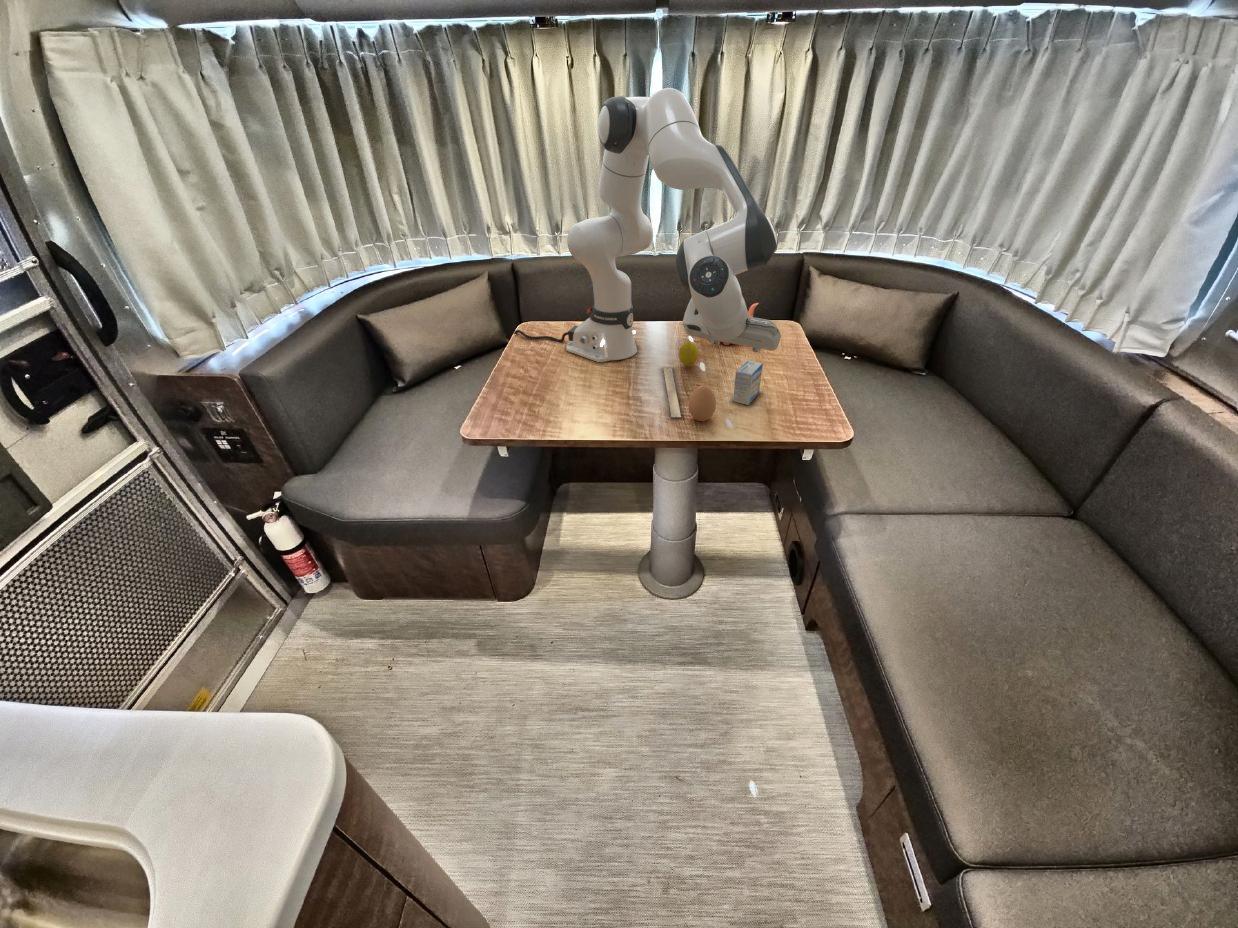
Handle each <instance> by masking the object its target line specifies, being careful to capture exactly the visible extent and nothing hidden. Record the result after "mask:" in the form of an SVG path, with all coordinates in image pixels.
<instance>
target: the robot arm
mask: <svg viewBox="0 0 1238 928" xmlns="http://www.w3.org/2000/svg"><path fill="white" fill-rule="evenodd" d="M597 131H598V132H597V133H598V139H599V142H600V143H601V145H602V147H603V148H604V150H603V156H602V162H601V167H600V175H599V181H598V182H599V183H598V188H597V189H598V193H599V194H598V195H599V196H600V199H601V200H602V202H603V203H604V204H605V205H606V206H608V207H609V208H610V212H609V214H608V215H603V216H598V217H592V218H587V219H584V220H582V221H579V222H577V223H575V224H573V225H571V226H570V228H569V230H568V233H567V237H566V238H567V239H566V243H567V244H566V245H567V248H568V251H569V253H570V255H571V257H573V258H574V260H575V261H577V262H578V263H580V264H581V265H582V266H583V267H584V268H585V269H586V271H587V272H588V275H589V277H590V279H591V283H592V290H593V291H592V292H593V303H594V304H593V305H591V306H590V308H588V309H586V311H587V312H586V314H589V313H590V315H589V317H588V318H587V319H584V321H582V322H581V323H579V325H574V326H573V327H571V328H570V329H569V330H568V331H567V332H564V333H563V334H562V335H561V338H560V339H559V338H556V337H553V336H551V335H540V336H539V335H537V336H532V335H528V334H526V333H525V332H523V330H520V329H516V330H514V332H513V335H517V334H521V336H523V337H525V338H526V339H530V340H545V339H546V340H552V341H554V342H557V343H562V342H564V341H565V337H566V336H567V338H568V341H569V342H568V343H567V344H566V348H565V350H566V351H567V352H569V353H572V354H574V355H577V356H579V357H582V358H585V359H588V360H591V361H594V362H597V363H605V362H609V361H619V360H621V361H622V360H625V359H629V358H631V357H633V356H634V355H636V354H637V352H638V347H637V344H636V341H635V334H636V330H634V328H633V324H634V306H633V303H632V281H631V279H630V277H629V276H628V274H627V273H625V272H623V271H622V270H620V269H617V265H616V259H617V258H623V257H627V256H632V255H636V254H638V253H640V252H642V251H644V250H646V249H648V248H649V247H650V245H651V244H652V241H653V237H654V230H653V226H652V222H651V221H650V219H649V217H648V216H647V215H646V214H645V213H644V212H643V208H642V194H643V189H644V183H645V179H646V173H647V170H648V164H649V162H650V164H651V167H652V169H653V171H654V173H655V176H656V178H657V180H659V181H660V182H661V184H663V185H665V186H667V187H669V188H671V189H674V190H679V191H687V190H688V191H689V190H694V189H716V190H719V191H721V192H723V194H724V196H725V197H726V199H727V201H728V203H729V204H730V206H731V208H732V210H733V212H734V213H735V216H734V217H733V218H732V219H729V220H727V221H725V222H723V223H720V224H718V225H715V226H713V227H711V228H709V229H705V230H702V231H701V232H698V233H696V234H693V235H691V236H689V237H687V238H685V239H682V242H681V243H680V244H679V247H678V249H677V252H676V256H675V266H676V271H677V274H678V277H679V280H680V282H681V285H682V286H683V288H684V291H685V293H686V294H687V295H688V296H690V297H691V298H690V300H689V302H688V304H687V306H686V309H685V312H684V316H683V319H682V322H681V323H682V326H683V329H684V331H685V333H686V334H687V335H688V336H691V337H694V338H701V339H706V340H707V341H710V342H711V343H712V345H715V346H720V344H721V343H723V342H727V343H730V344H733V345H739V346H743V347H749V348H751V350H752V352H754V353H757V354H758V353H759V354H760V353H761V350H765V351H772V352H773V351H775V350H777V349H778V347H779V345H780V341H781V338H782V333H781V331H780V329H779V327H778V326H777V324H776V323H775V322H773V321H772V320H770V319H765V318H759V317H754V316H753V317H749V314H748V311H749V309H748V307H747V304H746V301H745V298H744V296H743V293H742V289H741V285H740V283H739V280H738V278H737V276H736V275H739V274H741V273H744V272H747V271H751V270H756V269H759V268H763V267H766V266H767V264H768V263H769V262H770V261H771V259H772V258H773V256H774V254H775V253H776V250H777V248H778V245H777V243H778V240H777V234H776V231H775V228H774V226H773V224H772V222H771V220H770V219H769V218H768V217H767V215H766V213H765V212H764V211H763V209H762V208H761V207H760V205H759V204H758V202H757V200H756V198H755V197H754V195H753V193H752V191H751V189H750V188H749V186H748V184H747V182H746V181H745V178H744V177H743V176H742V175H743V174H741V172H740V170H739V169H738V167H737V165H736V163H735V161H734V159H732V157H731V155H730V154H729V152H728V151H727V149H725V147H724V146H723V145H722V144H716V143H715V144H714V143H712V142H710V141H708V140H707V139H706V138H705V137H704V135H703V134H702V131H701V127H700V125H699V122H698V120H697V117H696V114H695V111H694V109H693V107H692V105H691V104H690V103H689V100H688V99H687V98H686V96H685V95H684V94H683V92H681V91H680V90H678V89H677V88H673V87H665V88H661V89H659V90H657V91H655V92H654V93H652V94H651V95H650V96H649V95H648V96H626V97H625V96H623V95H618V96H612V97H609V98H607V99H606V100H605V101H604V102H603V104H602V105H601V107H600V110H599V114H598V120H597Z"/></svg>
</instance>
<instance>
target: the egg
mask: <svg viewBox="0 0 1238 928" xmlns="http://www.w3.org/2000/svg"><path fill="white" fill-rule="evenodd" d="M687 405H688V406H687V407H688V411H689V414H690V416H691V417H692V418H693V419H694V420H696V421H699V422H705V421H708V420H709V419H710V418H712V417H713V415H714V414H715V412H716V409H717V399H716V395H715V393H714V391H713V390H712V388H710V387H709V386H707V385H699V386H696V388H694V390H693V391H691V394H690V396H689V398H688V404H687Z"/></svg>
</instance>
